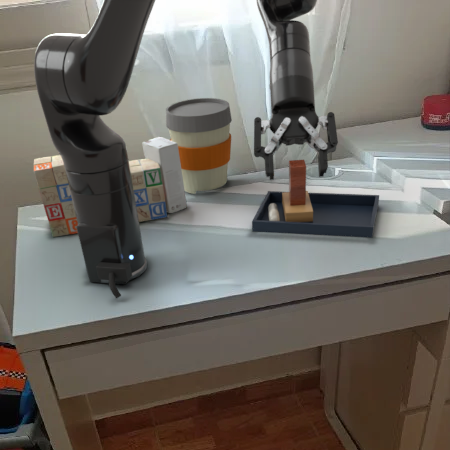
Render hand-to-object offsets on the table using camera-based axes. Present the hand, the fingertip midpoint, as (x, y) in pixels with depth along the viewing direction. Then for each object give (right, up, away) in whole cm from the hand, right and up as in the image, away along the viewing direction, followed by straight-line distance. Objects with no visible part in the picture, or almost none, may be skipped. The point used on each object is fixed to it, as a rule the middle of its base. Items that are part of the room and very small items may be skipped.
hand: (296, 176), depth 104 cm
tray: (+4, -7, +3) cm, 8 cm away
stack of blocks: (-34, -5, +9) cm, 36 cm away
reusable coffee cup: (-16, +5, +20) cm, 26 cm away
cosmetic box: (-23, -1, +13) cm, 26 cm away
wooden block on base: (0, -6, +3) cm, 7 cm away
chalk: (-4, -6, +3) cm, 8 cm away
